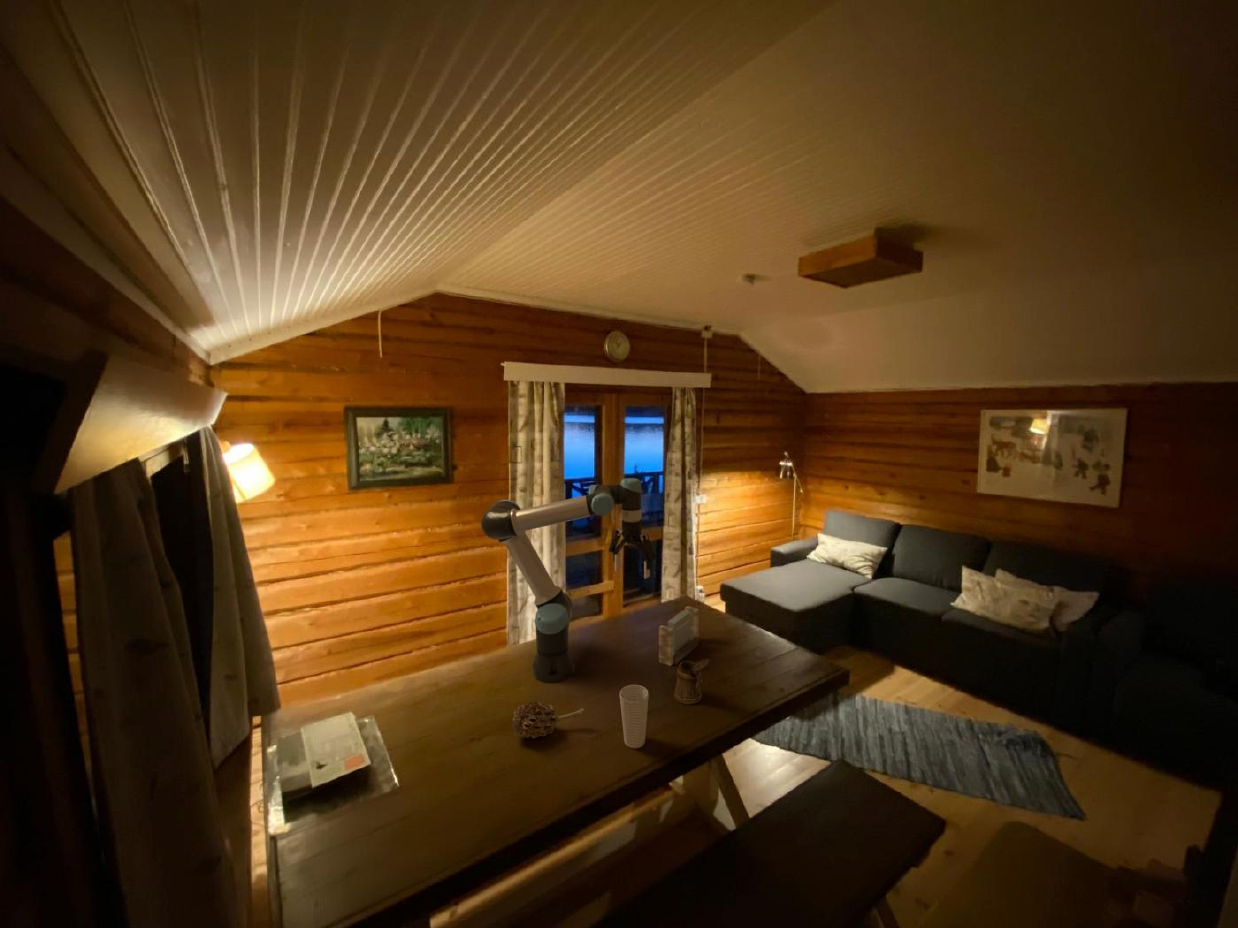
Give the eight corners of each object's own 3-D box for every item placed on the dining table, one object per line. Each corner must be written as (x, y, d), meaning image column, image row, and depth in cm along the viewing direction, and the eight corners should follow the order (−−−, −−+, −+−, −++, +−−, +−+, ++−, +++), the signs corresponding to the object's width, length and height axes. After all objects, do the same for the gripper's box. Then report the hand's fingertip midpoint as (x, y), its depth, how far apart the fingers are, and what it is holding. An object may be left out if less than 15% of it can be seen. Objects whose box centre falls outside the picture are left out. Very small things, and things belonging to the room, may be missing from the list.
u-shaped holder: (656, 660, 192) (655, 626, 190) (684, 637, 210) (684, 605, 208) (673, 667, 188) (673, 631, 186) (701, 642, 205) (701, 609, 203)
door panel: (667, 655, 195) (667, 621, 193) (682, 643, 205) (683, 610, 202) (674, 658, 193) (674, 623, 191) (690, 645, 203) (690, 612, 201)
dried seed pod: (515, 751, 146) (513, 719, 144) (510, 730, 155) (509, 700, 153) (589, 733, 153) (588, 702, 151) (581, 713, 162) (580, 685, 160)
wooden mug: (694, 715, 160) (694, 662, 157) (668, 693, 172) (668, 643, 169) (715, 706, 165) (716, 654, 162) (689, 685, 176) (690, 637, 173)
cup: (614, 741, 149) (613, 692, 147) (634, 727, 155) (633, 680, 153) (635, 756, 143) (634, 705, 141) (655, 741, 149) (655, 692, 147)
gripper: (599, 517, 196) (600, 570, 199) (654, 526, 181) (654, 583, 185) (611, 513, 202) (611, 564, 205) (665, 522, 187) (665, 577, 191)
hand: (632, 573), depth 195 cm, fingers open, 13 cm apart
